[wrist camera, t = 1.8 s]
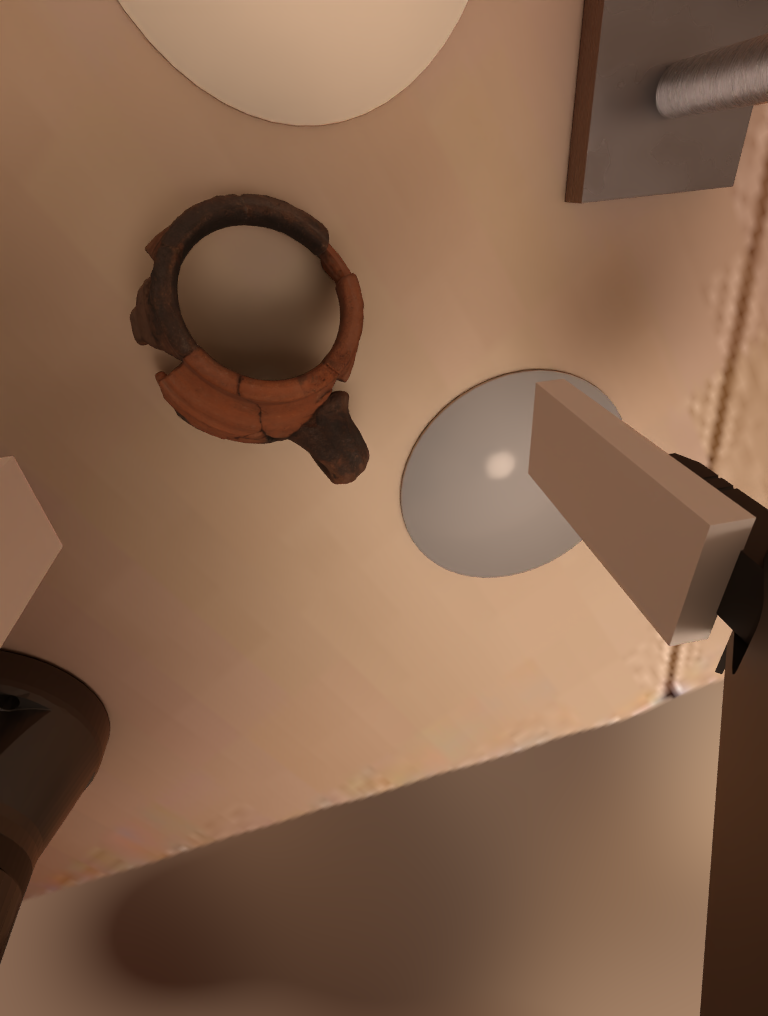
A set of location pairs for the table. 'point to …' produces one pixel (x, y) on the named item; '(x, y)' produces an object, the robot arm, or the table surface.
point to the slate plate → (486, 482)
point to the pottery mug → (240, 399)
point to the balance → (664, 95)
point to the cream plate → (298, 51)
